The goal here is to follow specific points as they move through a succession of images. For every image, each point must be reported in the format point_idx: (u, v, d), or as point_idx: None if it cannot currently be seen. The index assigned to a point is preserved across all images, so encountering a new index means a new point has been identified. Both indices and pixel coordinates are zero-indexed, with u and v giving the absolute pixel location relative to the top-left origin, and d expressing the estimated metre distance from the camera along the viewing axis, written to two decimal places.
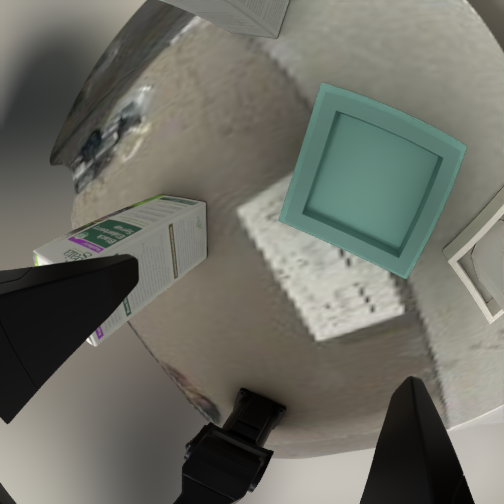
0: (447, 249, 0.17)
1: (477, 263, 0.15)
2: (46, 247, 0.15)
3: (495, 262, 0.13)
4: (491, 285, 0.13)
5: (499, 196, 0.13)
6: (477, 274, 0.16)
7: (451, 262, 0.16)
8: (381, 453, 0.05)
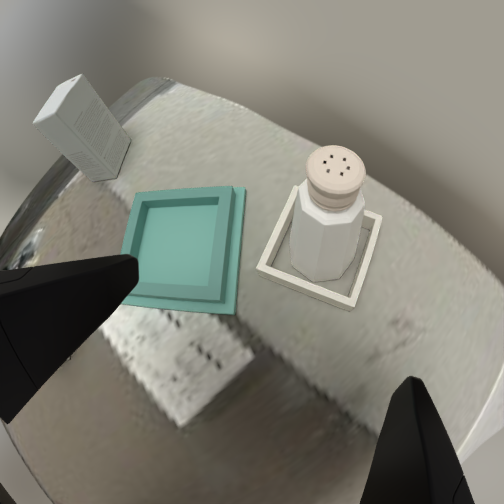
0: None
1: (293, 260, 0.20)
2: None
3: (293, 232, 0.19)
4: (303, 252, 0.18)
5: None
6: (307, 276, 0.21)
7: (260, 267, 0.20)
8: (381, 453, 0.05)
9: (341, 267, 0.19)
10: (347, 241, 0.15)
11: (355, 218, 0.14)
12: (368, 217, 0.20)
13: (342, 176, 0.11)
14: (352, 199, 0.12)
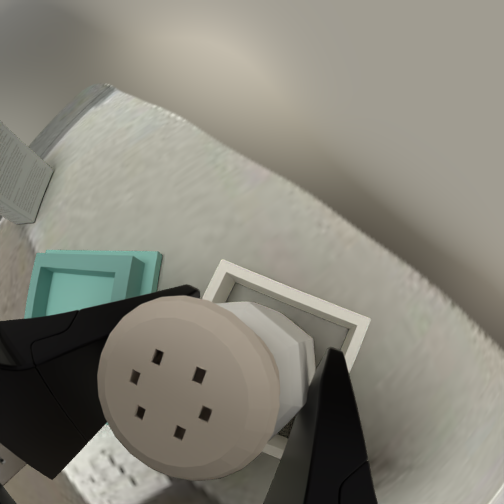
0: None
1: None
2: None
3: None
4: None
5: None
6: None
7: None
8: (295, 426, 0.06)
9: None
10: None
11: (272, 437, 0.05)
12: (345, 320, 0.12)
13: (180, 442, 0.03)
14: None
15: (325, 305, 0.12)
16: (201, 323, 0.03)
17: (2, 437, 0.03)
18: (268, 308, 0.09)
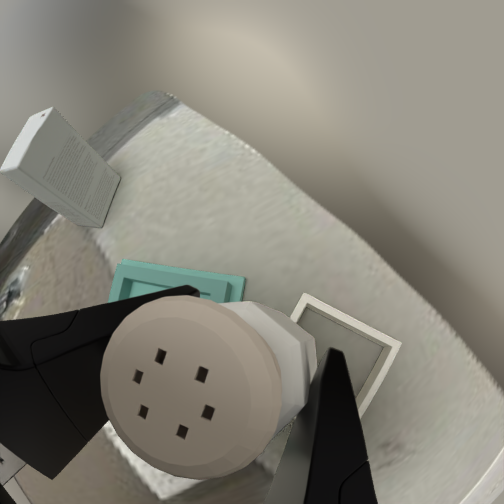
0: None
1: None
2: None
3: None
4: None
5: None
6: None
7: None
8: (295, 426, 0.06)
9: None
10: None
11: (274, 436, 0.05)
12: (385, 343, 0.16)
13: (183, 441, 0.03)
14: None
15: (373, 331, 0.16)
16: (203, 323, 0.03)
17: (2, 437, 0.03)
18: (270, 308, 0.09)
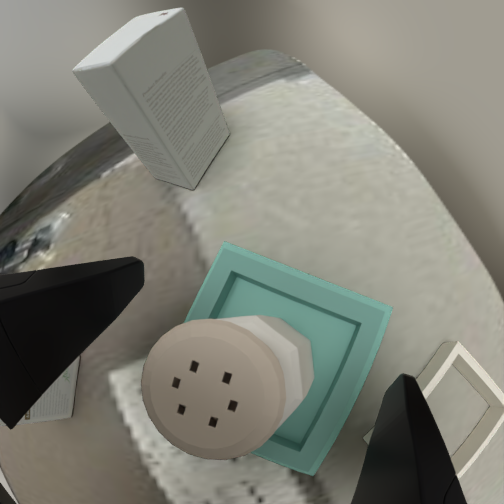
0: (370, 435, 0.12)
1: None
2: None
3: None
4: None
5: (436, 357, 0.13)
6: None
7: None
8: (373, 451, 0.05)
9: None
10: None
11: (279, 426, 0.06)
12: (502, 404, 0.09)
13: (214, 429, 0.04)
14: None
15: (498, 392, 0.10)
16: (226, 340, 0.05)
17: None
18: (270, 317, 0.10)
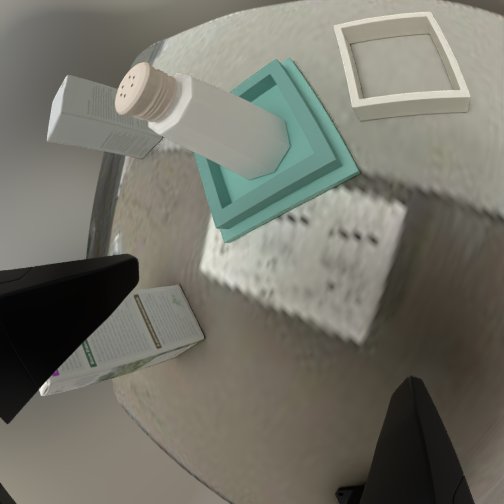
0: None
1: (239, 173, 0.18)
2: None
3: None
4: (224, 159, 0.16)
5: None
6: (264, 172, 0.18)
7: (356, 104, 0.14)
8: (381, 453, 0.05)
9: (268, 135, 0.16)
10: (222, 111, 0.13)
11: (194, 91, 0.12)
12: (419, 17, 0.10)
13: (133, 85, 0.10)
14: (164, 86, 0.11)
15: (403, 15, 0.11)
16: None
17: None
18: None
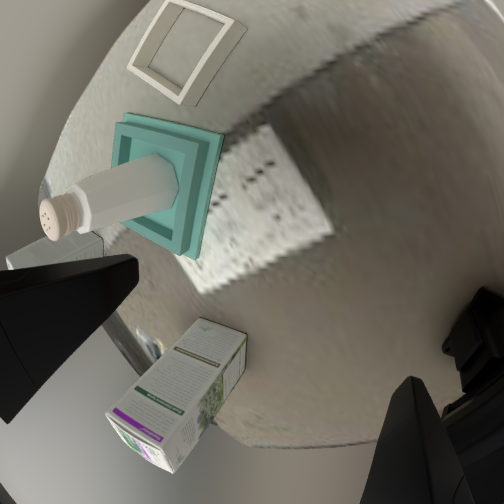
0: None
1: (160, 210, 0.22)
2: None
3: None
4: (140, 210, 0.20)
5: None
6: (173, 194, 0.22)
7: (179, 100, 0.18)
8: (381, 453, 0.05)
9: (151, 170, 0.20)
10: (110, 184, 0.17)
11: (84, 189, 0.15)
12: (165, 7, 0.15)
13: (49, 218, 0.14)
14: (65, 202, 0.14)
15: (156, 16, 0.15)
16: (40, 216, 0.14)
17: None
18: None
